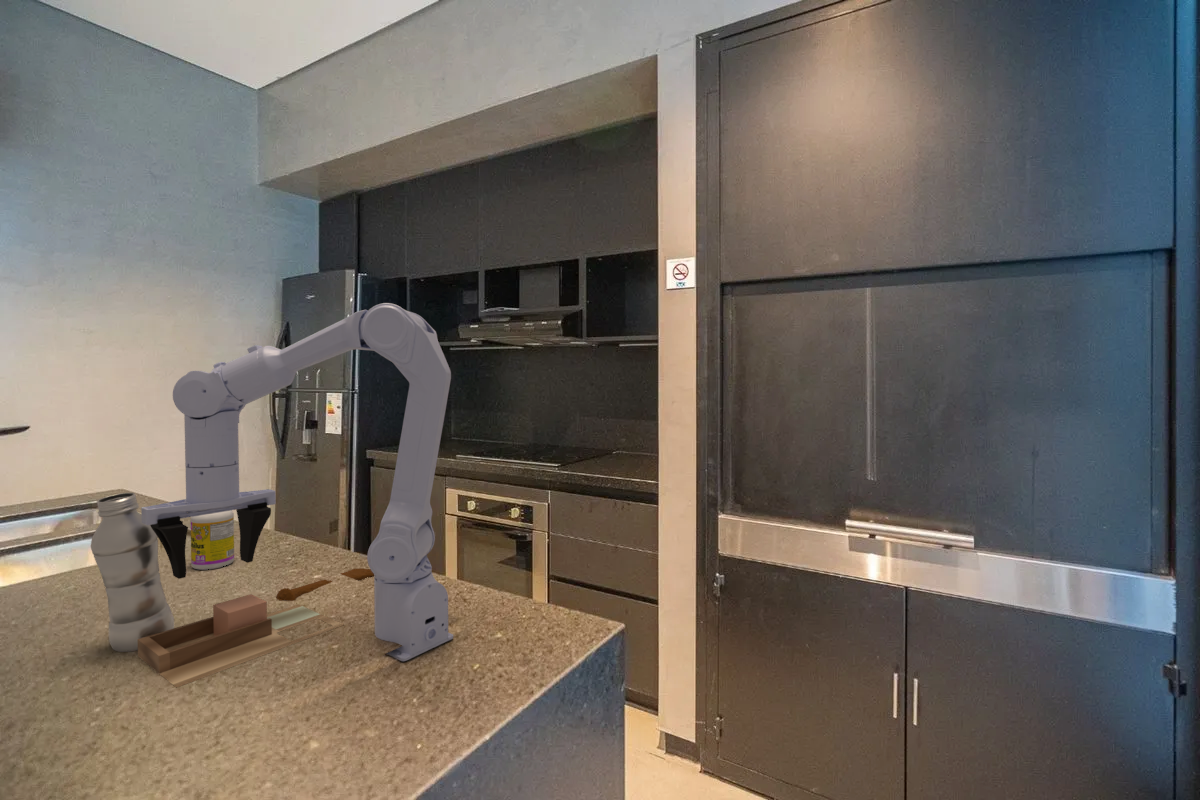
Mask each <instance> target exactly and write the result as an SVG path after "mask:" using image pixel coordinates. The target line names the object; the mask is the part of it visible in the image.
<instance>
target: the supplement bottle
mask: <svg viewBox="0 0 1200 800" xmlns="http://www.w3.org/2000/svg"><path fill="white" fill-rule="evenodd" d="M205 510H207V509H205ZM199 511H201V510H199ZM234 517H235V515H234V510H230V511H224V512H218V513H212V514H206V515H200V516H194V517H190V562H191V563H190V565H191V567H192V568H193V569H195V570H200V571H209V570H215V569H221V568H224V567H227V566H229V565H231V564H233V562H234V561H235V525H234V523H235V522H234V521H235V518H234ZM226 565H227V566H226ZM223 566H224V567H223ZM208 569H209V570H208Z"/></svg>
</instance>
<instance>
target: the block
mask: <svg viewBox="0 0 1200 800" xmlns="http://www.w3.org/2000/svg"><path fill="white" fill-rule="evenodd" d="M267 605H268V604H267V601H266V600H264V599H262V598H260V597H258V596H256V595H253V594H252V593H250V594H247V595H243V596H241V597H236V598H233V599H228V600H226V601H222V602H218V603H216V604H215V603H214V604H213V605H212V608H213V613H212V614H213V616H212V617H213V623H214V636H216V635H219V634H223V633H226V632H229V631H232V630H235V629H238V628H241V627H244V626H247V625H250V624H253V623H256V622H259V621H262V620H266V619H267V614H268V607H267Z"/></svg>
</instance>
